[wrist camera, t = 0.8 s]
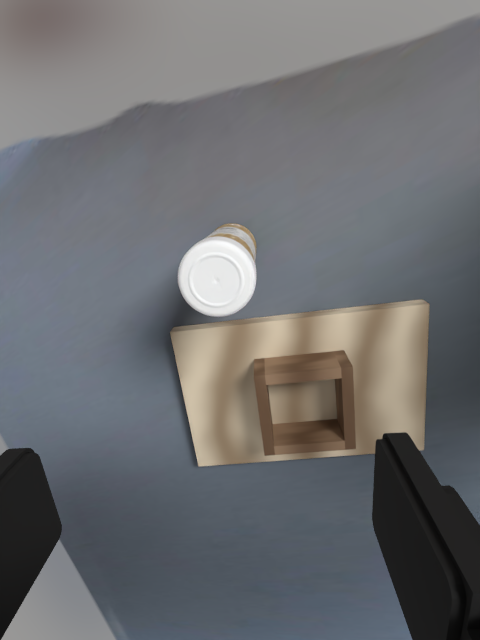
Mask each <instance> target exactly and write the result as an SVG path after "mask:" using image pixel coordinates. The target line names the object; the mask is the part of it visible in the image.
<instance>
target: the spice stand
mask: <svg viewBox="0 0 480 640" xmlns="http://www.w3.org/2000/svg"><path fill="white" fill-rule="evenodd" d="M428 328H429V303H427V302H426V301H424V300H423V299H420V300H411V301H402V302H393V303H384V304H375V305H366V306H357V307H349V308H340V309H331V310H322V311H313V312H304V313H295V314H286V315H277V316H268V317H259V318H250V319H241V320H232V321H223V322H214V323H205V324H196V325H187V326H178V327H173V329H172V330H171V332H170V335H171V340H172V344H173V349H174V354H175V358H176V363H177V368H178V372H179V377H180V382H181V386H182V391H183V396H184V401H185V405H186V410H187V415H188V419H189V424H190V429H191V433H192V438H193V443H194V447H195V452H196V457H197V461H198V466H213V465H226V464H240V463H254V462H267V461H281V460H295V459H308V458H322V457H336V456H349V455H363V454H375V445H376V440H377V439H382V436H383V434H384V433H402V432H406V433H408V435H409V436H410V437H411V439H412V440H413V442H414V444H415V445H416V447H417V448H418V450H424V435H425V408H426V382H427V355H428Z"/></svg>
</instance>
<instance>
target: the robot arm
mask: <svg viewBox="0 0 480 640" xmlns="http://www.w3.org/2000/svg"><path fill="white" fill-rule="evenodd" d="M372 520H373V526H374V531H375V534H376V537H377V539H378V542H379V545H380V548H381V551H382V554H383V557H384V559H385V562H386V565H387V568H388V571H389V574H390V577H391V579H392V582H393V585H394V588H395V591H396V594H397V597H398V599H399V602H400V605H401V608H402V611H403V614H404V617H405V619H406V622H407V625H408V628H409V631H410V634H411V637H412V639H413V640H480V525H479V524H478V522H477V521H476V519H475V518H474V517H473V515H472V514H471V512H470V511H469V509H468V508H467V506H466V505H465V503H464V502H463V500H462V499H461V497H460V496H459V494H458V493H457V492H456V491H455V489H454V488H452V487H451V486H441V485H440V483H439V481H438V480H437V478H436V477H435V475H434V473H433V472H432V470H431V469H430V467H429V466H428V464H427V462H426V461H425V459H424V458H423V456H422V455H421V453H420V451H419V450H418V448H417V447H416V445H415V444H414V442H413V440H412V439H411V437H410V436H409V435H408V433H406V432H402V433H384V434H383V436H382V439H377V440H376V445H375V468H374V490H373V512H372ZM61 530H62V525H61V521H60V518H59V515H58V512H57V509H56V506H55V503H54V500H53V497H52V494H51V491H50V487H49V484H48V481H47V478H46V475H45V472H44V469H43V466H42V463H41V460H40V457H39V455H38V454H37V453H35V452H34V451H33V450H32V449H31V448H18V449H8V450H6V451H5V452H4V453H3V454H2V455H1V456H0V640H1V638H2V637H3V635H4V633H5V631H6V630H7V628H8V626H9V625H10V623H11V621H12V619H13V618H14V616H15V614H16V613H17V611H18V609H19V607H20V606H21V604H22V602H23V600H24V598H25V597H26V595H27V593H28V592H29V590H30V588H31V586H32V585H33V583H34V581H35V579H36V578H37V576H38V575H39V573H40V571H41V569H42V568H43V566H44V564H45V562H46V561H47V559H48V557H49V556H50V554H51V552H52V550H53V549H54V547H55V545H56V543H57V542H58V540H59V538H60V535H61Z"/></svg>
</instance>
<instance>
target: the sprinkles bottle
mask: <svg viewBox="0 0 480 640" xmlns="http://www.w3.org/2000/svg"><path fill="white" fill-rule="evenodd" d="M255 256H256V241H255V239H254V236H253V235H252V233H251V232H250V231H249V230H248V229H247V228H245V227H244V226H241V225H239V224H232V223H231V224H225V225H222V226H220V227H218V228H217V229H216V230H215V231H214V232H213V233H211V234H210V235H209V236H207V237H206V238H205V239H203V240H201V241H199V242H198V243H196V244H195V245H194V246H193V247H192V248H191V249H190V250H189V251H188V252H187V253H186V254H185V255H184V257H183V259H182V261H181V263H180V266H179V269H178V285H179V289H180V292H181V294H182V296H183V298H184V299H185V300H186V302H187V303H188V304H189V305H190V306H191V307H192V308H193V309H195V310H196V311H198V312H200V313H202V314H204V315H208V316H213V317H223V316H228V315H231V314H234V313H236V312H238V311H239V310H240V309H242V308H243V307H244V306H245V305H246V304H247V303H248V302H249V300H250V299H251V297H252V295H253V292H254V289H255V285H256V266H255Z"/></svg>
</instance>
